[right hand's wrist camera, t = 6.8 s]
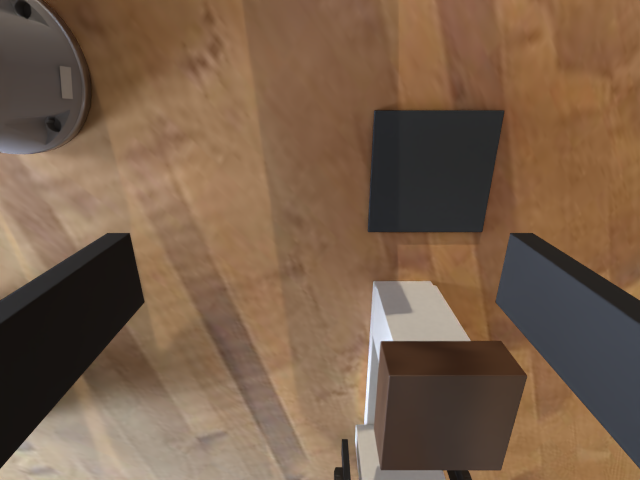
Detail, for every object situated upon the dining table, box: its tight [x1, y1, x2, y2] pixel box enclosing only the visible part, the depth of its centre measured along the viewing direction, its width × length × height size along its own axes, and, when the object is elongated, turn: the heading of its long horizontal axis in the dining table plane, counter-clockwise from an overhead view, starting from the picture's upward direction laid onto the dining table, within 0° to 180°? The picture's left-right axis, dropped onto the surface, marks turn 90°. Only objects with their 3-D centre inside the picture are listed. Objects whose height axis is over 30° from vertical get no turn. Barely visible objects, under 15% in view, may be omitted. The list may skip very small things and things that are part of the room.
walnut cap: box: [374, 341, 527, 470], centre depth 29 cm, size 10×10×4 cm
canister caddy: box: [355, 281, 471, 480], centre depth 41 cm, size 26×10×14 cm, turn 0°
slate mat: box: [368, 111, 504, 232], centre depth 38 cm, size 13×13×1 cm
